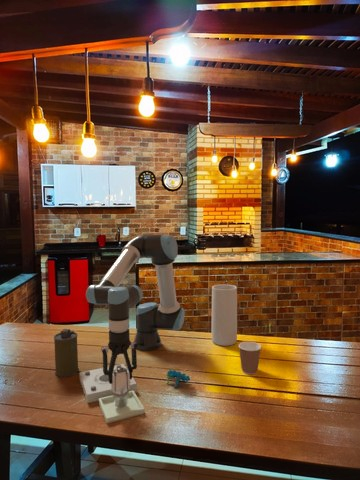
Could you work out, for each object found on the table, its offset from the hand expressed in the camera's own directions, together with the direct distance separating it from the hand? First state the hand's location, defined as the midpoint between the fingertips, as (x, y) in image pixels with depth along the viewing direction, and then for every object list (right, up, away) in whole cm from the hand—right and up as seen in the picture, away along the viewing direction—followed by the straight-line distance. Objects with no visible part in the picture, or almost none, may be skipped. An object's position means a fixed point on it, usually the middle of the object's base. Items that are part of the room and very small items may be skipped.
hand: (120, 389), depth 129 cm
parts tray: (0, -8, +1) cm, 8 cm away
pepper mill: (0, -6, +1) cm, 6 cm away
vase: (+47, -2, +65) cm, 80 cm away
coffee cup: (+55, -5, +30) cm, 63 cm away
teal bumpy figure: (+21, -6, +19) cm, 29 cm away
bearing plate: (-9, -6, +17) cm, 20 cm away
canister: (-30, -5, +31) cm, 43 cm away
